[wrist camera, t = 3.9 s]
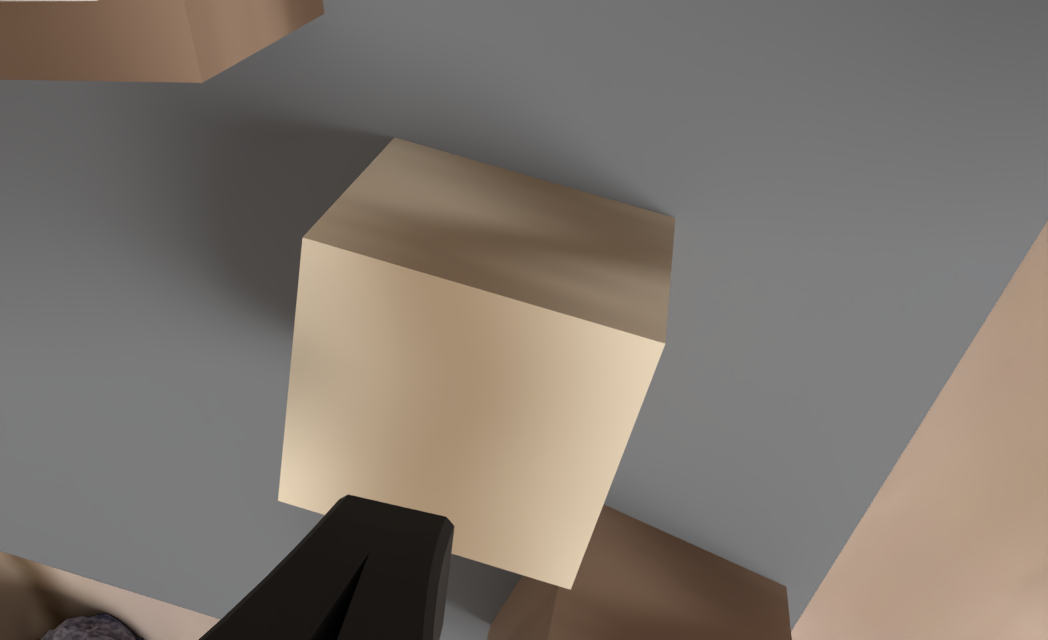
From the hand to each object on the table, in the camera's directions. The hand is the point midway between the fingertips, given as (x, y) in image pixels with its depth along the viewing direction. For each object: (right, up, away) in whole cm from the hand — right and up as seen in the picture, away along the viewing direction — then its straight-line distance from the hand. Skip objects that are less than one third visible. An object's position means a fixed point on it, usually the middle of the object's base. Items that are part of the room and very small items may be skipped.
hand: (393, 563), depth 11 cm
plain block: (+1, +3, +6) cm, 7 cm away
